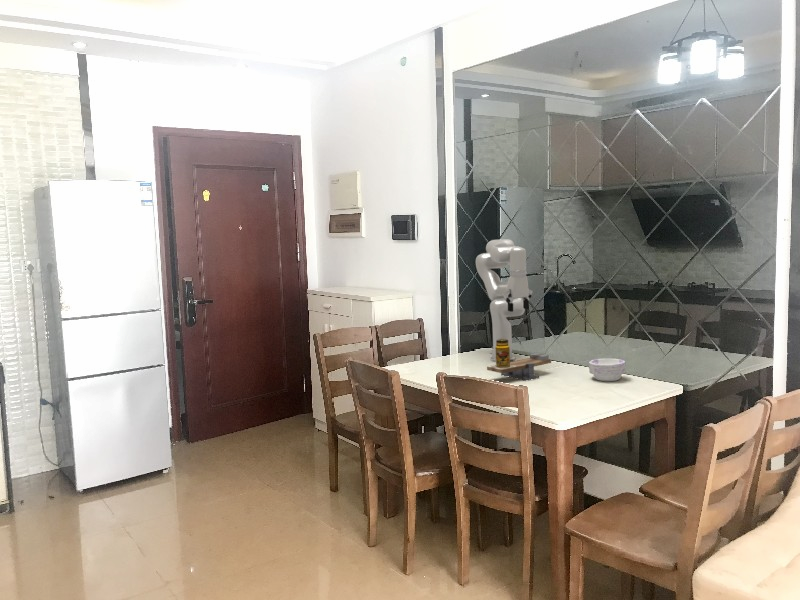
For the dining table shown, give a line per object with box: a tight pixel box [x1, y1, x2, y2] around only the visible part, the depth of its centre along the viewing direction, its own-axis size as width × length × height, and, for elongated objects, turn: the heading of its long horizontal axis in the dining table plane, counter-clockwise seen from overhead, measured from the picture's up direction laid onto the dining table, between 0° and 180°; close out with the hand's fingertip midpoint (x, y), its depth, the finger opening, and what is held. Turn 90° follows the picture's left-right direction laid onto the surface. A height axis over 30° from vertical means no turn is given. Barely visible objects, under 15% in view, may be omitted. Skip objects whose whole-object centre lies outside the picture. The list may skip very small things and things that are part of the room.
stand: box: [500, 359, 540, 381], centre depth 295 cm, size 16×8×7 cm, turn 34°
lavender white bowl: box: [588, 358, 627, 382], centre depth 282 cm, size 15×15×8 cm
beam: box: [486, 352, 552, 374], centre depth 294 cm, size 10×30×4 cm, turn 124°
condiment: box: [489, 339, 512, 368], centre depth 288 cm, size 7×8×12 cm
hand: (518, 310), depth 308 cm, fingers open, 9 cm apart
